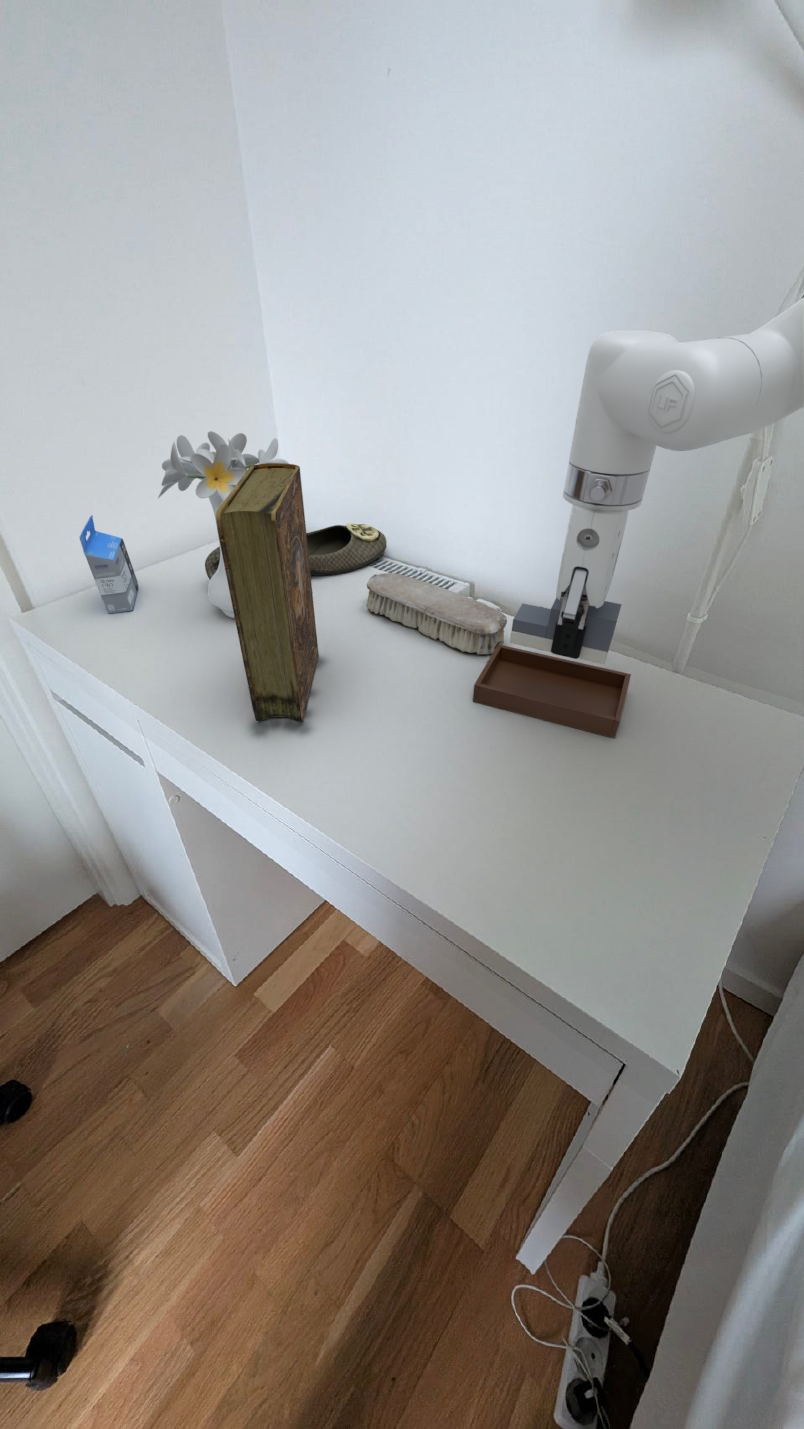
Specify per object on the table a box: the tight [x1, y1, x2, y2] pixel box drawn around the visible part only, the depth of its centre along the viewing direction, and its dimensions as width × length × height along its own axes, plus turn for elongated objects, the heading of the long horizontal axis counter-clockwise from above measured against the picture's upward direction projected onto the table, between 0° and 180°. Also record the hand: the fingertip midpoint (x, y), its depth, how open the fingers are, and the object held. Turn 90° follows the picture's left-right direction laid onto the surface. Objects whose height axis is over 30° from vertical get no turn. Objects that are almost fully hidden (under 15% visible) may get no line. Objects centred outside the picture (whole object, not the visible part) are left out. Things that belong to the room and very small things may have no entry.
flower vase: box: [157, 430, 290, 619], centre depth 83 cm, size 13×18×25 cm
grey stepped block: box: [509, 596, 622, 665], centre depth 66 cm, size 11×4×6 cm, turn 66°
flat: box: [204, 522, 388, 580], centre depth 99 cm, size 11×33×8 cm, turn 117°
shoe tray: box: [472, 644, 632, 739], centre depth 72 cm, size 17×10×3 cm, turn 66°
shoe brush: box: [366, 572, 508, 655], centre depth 85 cm, size 24×8×5 cm, turn 51°
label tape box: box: [79, 514, 139, 614], centre depth 88 cm, size 9×4×12 cm, turn 13°
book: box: [215, 463, 320, 723], centre depth 66 cm, size 16×6×25 cm, turn 179°
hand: (569, 642), depth 68 cm, fingers closed on grey stepped block, 4 cm apart
